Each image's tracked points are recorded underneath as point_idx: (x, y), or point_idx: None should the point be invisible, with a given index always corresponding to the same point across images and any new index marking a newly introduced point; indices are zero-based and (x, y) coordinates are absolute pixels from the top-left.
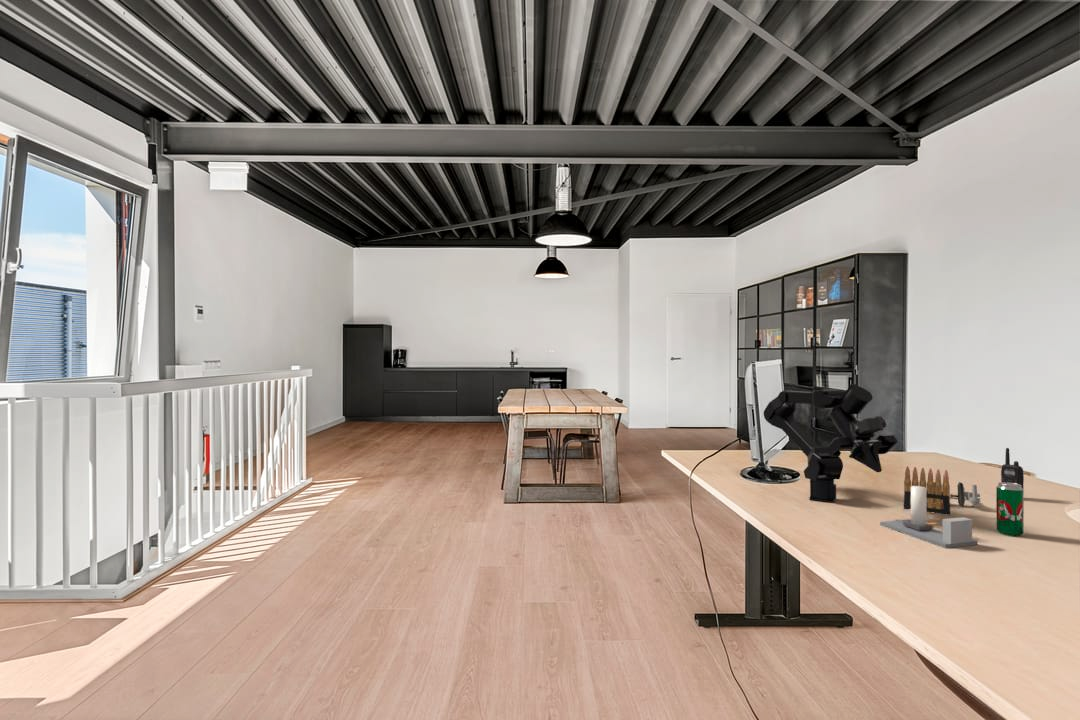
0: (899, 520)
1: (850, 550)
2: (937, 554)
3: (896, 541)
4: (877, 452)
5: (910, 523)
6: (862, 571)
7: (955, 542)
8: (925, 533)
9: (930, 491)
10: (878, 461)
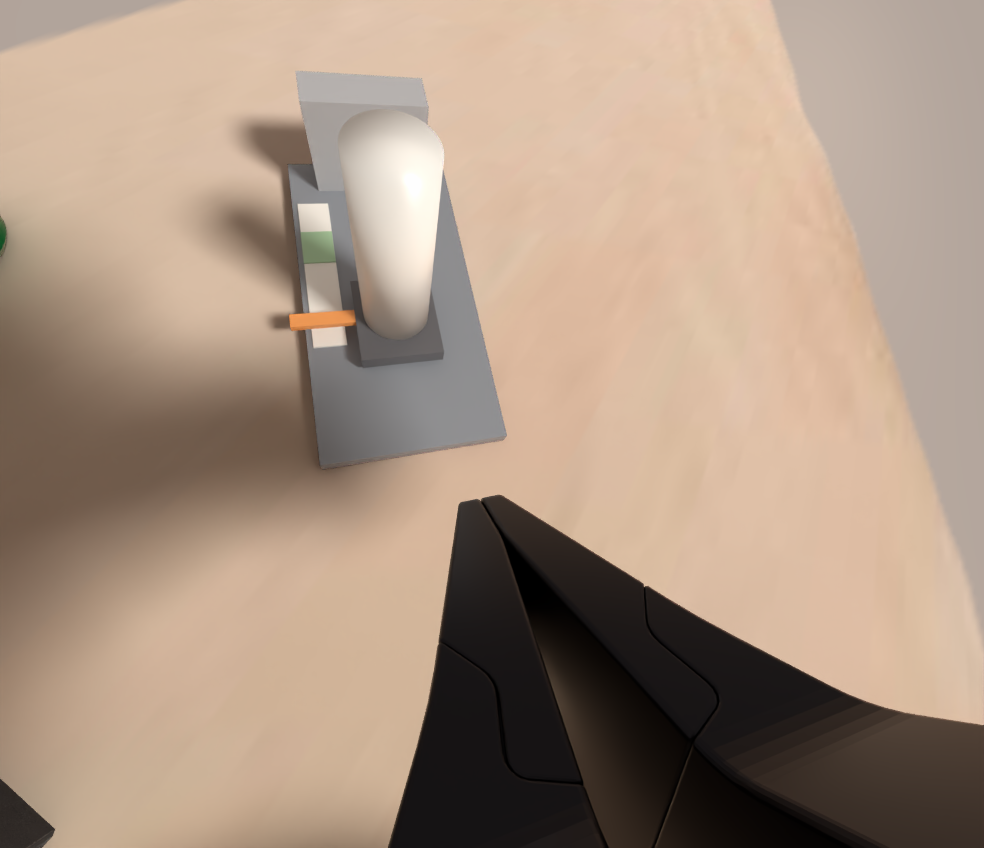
0: (391, 449)
1: (734, 219)
2: (509, 146)
3: (560, 255)
4: (426, 836)
5: (427, 326)
6: (752, 115)
7: None
8: None
9: None
10: (483, 577)
